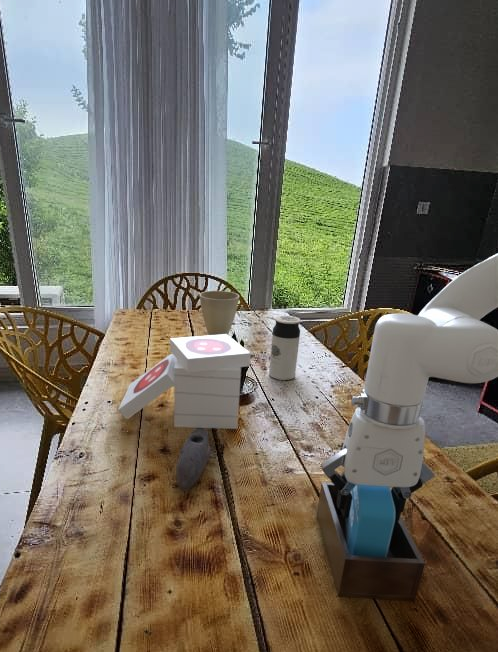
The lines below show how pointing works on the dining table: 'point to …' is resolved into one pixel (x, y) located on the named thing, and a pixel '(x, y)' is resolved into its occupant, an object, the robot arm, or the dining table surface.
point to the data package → (370, 521)
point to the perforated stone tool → (192, 459)
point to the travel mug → (284, 347)
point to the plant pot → (218, 310)
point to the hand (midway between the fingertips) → (368, 512)
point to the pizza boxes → (194, 382)
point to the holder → (368, 557)
